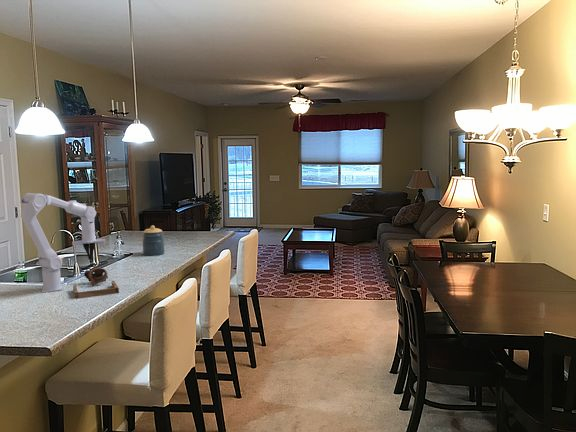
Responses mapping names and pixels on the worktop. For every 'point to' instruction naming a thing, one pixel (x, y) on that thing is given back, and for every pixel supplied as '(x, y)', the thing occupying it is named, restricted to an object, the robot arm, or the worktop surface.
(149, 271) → the worktop surface
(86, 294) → the corral
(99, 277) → the pottery mug
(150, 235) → the canister
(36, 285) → the worktop surface
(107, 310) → the worktop surface
